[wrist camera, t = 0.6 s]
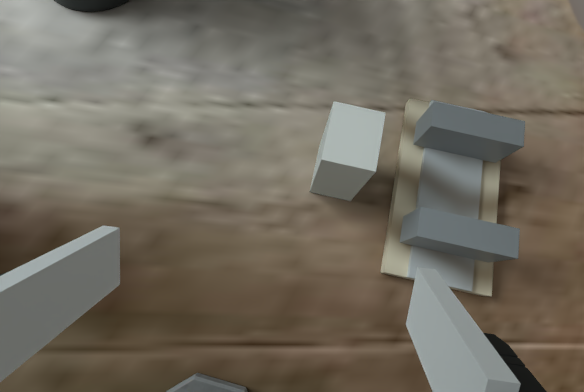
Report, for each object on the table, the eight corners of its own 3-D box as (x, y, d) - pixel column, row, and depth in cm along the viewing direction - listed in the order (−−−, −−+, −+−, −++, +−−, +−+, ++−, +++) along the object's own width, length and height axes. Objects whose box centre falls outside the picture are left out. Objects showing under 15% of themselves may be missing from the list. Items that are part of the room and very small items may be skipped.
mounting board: (405, 104, 46) (411, 95, 44) (496, 124, 46) (506, 116, 44) (380, 272, 40) (386, 272, 38) (483, 296, 40) (494, 296, 38)
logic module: (319, 146, 44) (333, 101, 33) (358, 155, 44) (385, 112, 33) (309, 191, 42) (321, 159, 32) (350, 201, 42) (375, 171, 32)
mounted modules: (416, 122, 43) (434, 101, 38) (496, 140, 43) (524, 121, 38) (399, 242, 39) (417, 235, 34) (488, 262, 39) (518, 258, 34)
